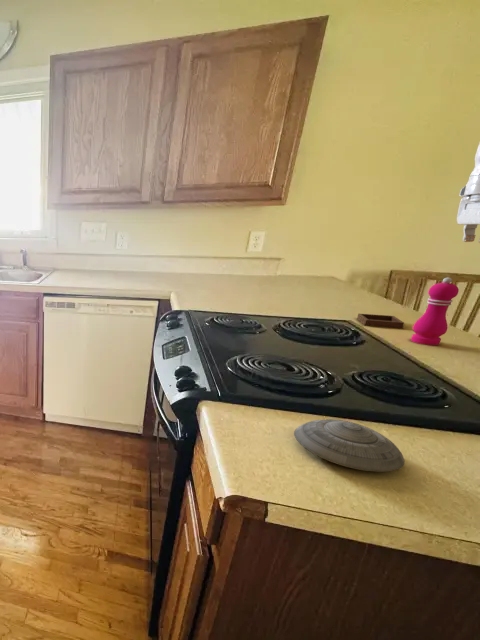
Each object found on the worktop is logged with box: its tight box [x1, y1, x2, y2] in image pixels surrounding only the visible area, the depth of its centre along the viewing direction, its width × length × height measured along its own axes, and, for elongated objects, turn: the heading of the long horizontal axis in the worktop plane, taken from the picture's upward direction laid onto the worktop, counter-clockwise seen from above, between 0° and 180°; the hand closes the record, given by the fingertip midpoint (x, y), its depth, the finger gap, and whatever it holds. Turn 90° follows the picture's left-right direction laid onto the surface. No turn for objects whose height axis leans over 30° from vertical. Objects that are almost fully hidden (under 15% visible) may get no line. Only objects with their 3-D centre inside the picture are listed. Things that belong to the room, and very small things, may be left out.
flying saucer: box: [293, 418, 406, 473], centre depth 69 cm, size 15×15×6 cm
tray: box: [356, 313, 405, 329], centre depth 142 cm, size 10×10×2 cm
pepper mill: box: [410, 277, 460, 346], centre depth 119 cm, size 7×7×20 cm
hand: (475, 242), depth 105 cm, fingers open, 8 cm apart
